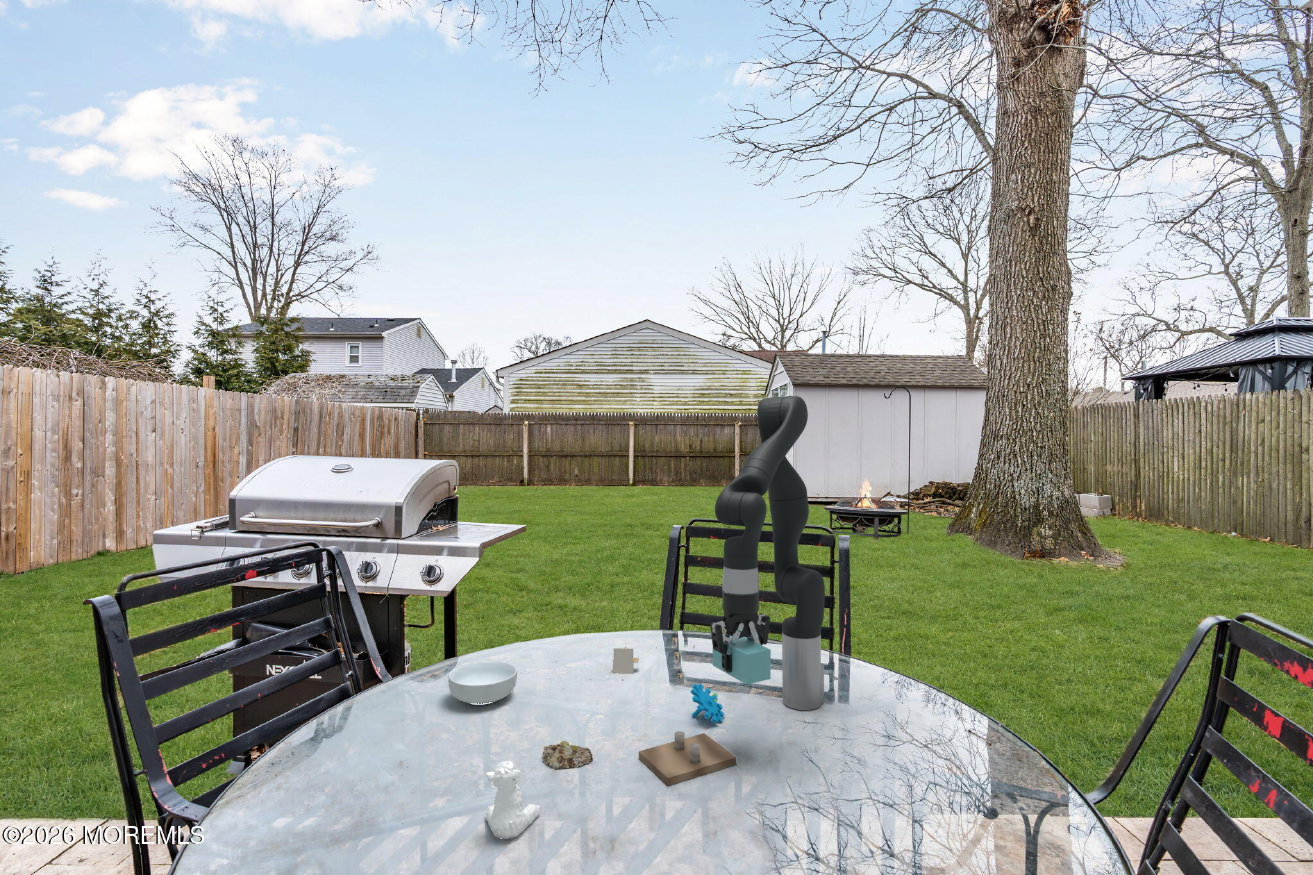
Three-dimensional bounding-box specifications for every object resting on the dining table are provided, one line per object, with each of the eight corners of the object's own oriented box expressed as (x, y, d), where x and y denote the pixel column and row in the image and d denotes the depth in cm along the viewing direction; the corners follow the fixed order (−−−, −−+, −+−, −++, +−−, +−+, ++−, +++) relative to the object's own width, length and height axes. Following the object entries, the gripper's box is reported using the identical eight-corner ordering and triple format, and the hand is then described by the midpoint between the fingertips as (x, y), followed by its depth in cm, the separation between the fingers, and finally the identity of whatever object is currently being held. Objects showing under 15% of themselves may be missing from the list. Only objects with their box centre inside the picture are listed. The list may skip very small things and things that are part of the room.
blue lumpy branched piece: (715, 724, 149) (688, 686, 153) (697, 740, 151) (671, 702, 155) (733, 712, 159) (707, 676, 163) (716, 727, 160) (690, 691, 164)
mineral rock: (535, 759, 134) (547, 730, 142) (536, 776, 135) (548, 747, 143) (587, 764, 132) (596, 735, 140) (588, 782, 134) (597, 752, 141)
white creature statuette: (541, 813, 119) (540, 746, 119) (534, 843, 111) (533, 771, 110) (487, 814, 119) (486, 747, 119) (476, 845, 110) (475, 773, 110)
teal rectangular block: (735, 660, 146) (735, 633, 146) (770, 678, 136) (770, 649, 136) (712, 665, 143) (712, 637, 143) (746, 684, 133) (746, 654, 133)
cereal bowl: (508, 714, 159) (507, 684, 159) (439, 714, 160) (438, 684, 160) (524, 686, 176) (523, 659, 176) (461, 686, 177) (460, 659, 177)
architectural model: (614, 670, 188) (614, 644, 188) (639, 670, 187) (639, 644, 187) (613, 675, 185) (612, 648, 184) (638, 675, 184) (637, 648, 184)
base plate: (704, 739, 146) (703, 719, 146) (736, 764, 135) (736, 742, 135) (638, 758, 138) (638, 736, 138) (667, 785, 127) (667, 762, 127)
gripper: (757, 580, 146) (757, 657, 146) (701, 588, 139) (701, 669, 139) (779, 587, 139) (779, 668, 140) (722, 596, 132) (722, 681, 133)
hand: (740, 668), depth 139 cm, fingers closed on teal rectangular block, 6 cm apart
